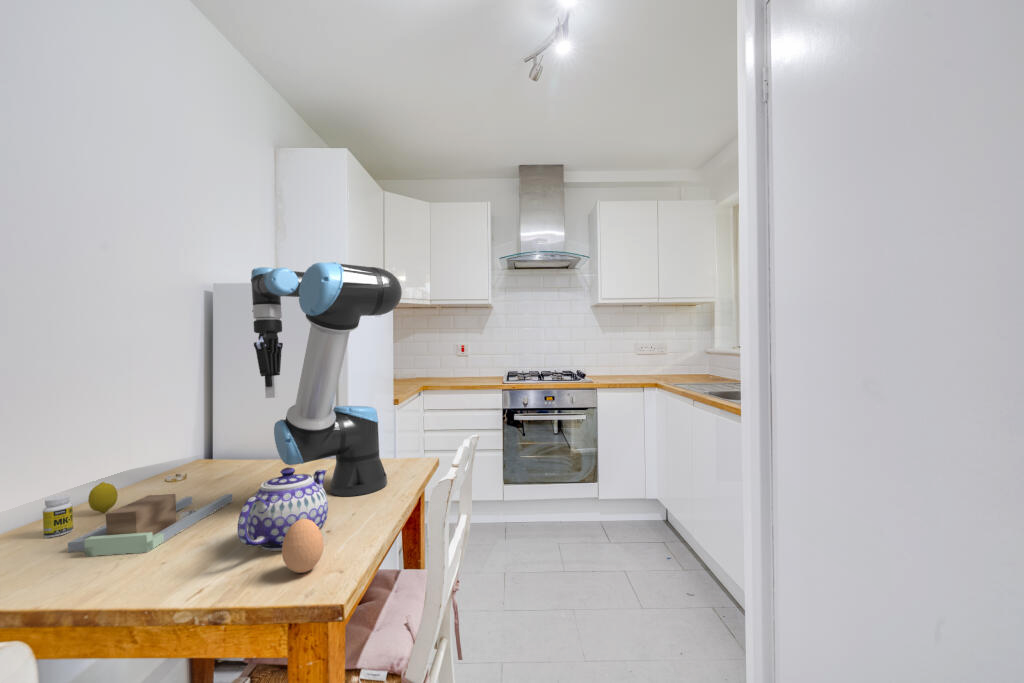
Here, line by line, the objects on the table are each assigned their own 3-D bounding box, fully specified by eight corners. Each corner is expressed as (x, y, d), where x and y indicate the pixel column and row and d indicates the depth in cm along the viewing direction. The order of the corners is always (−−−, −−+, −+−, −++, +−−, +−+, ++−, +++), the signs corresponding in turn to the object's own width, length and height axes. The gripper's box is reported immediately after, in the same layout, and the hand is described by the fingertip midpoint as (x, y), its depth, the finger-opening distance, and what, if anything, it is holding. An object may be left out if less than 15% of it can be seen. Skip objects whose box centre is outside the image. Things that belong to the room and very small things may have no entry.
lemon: (115, 507, 117) (113, 477, 117) (120, 511, 114) (119, 480, 114) (86, 514, 113) (85, 483, 113) (91, 518, 110) (90, 486, 110)
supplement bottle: (53, 538, 98) (52, 501, 98) (37, 538, 99) (36, 500, 99) (79, 529, 103) (77, 494, 103) (63, 529, 104) (61, 493, 104)
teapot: (274, 574, 77) (270, 489, 77) (204, 568, 80) (201, 486, 81) (357, 517, 101) (354, 453, 101) (301, 515, 105) (298, 452, 105)
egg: (309, 582, 74) (306, 527, 74) (274, 580, 75) (271, 527, 75) (332, 562, 80) (329, 512, 80) (299, 561, 81) (297, 512, 81)
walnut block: (150, 530, 100) (148, 495, 101) (176, 528, 101) (175, 493, 101) (107, 552, 89) (105, 513, 90) (137, 550, 90) (135, 511, 90)
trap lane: (163, 505, 117) (162, 492, 117) (232, 500, 118) (232, 487, 118) (53, 559, 87) (52, 541, 87) (147, 552, 88) (146, 535, 88)
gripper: (266, 321, 139) (269, 396, 138) (242, 318, 126) (246, 400, 125) (290, 320, 139) (293, 394, 139) (269, 317, 126) (273, 399, 126)
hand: (271, 397), depth 132 cm, fingers closed
